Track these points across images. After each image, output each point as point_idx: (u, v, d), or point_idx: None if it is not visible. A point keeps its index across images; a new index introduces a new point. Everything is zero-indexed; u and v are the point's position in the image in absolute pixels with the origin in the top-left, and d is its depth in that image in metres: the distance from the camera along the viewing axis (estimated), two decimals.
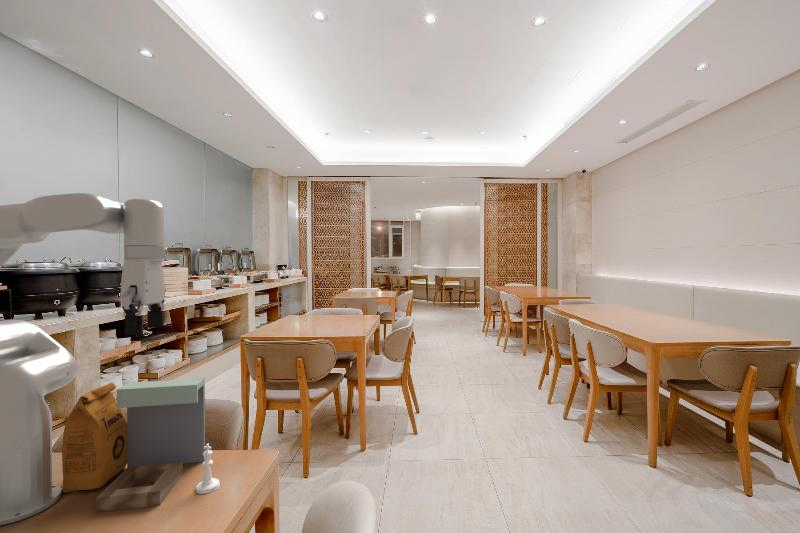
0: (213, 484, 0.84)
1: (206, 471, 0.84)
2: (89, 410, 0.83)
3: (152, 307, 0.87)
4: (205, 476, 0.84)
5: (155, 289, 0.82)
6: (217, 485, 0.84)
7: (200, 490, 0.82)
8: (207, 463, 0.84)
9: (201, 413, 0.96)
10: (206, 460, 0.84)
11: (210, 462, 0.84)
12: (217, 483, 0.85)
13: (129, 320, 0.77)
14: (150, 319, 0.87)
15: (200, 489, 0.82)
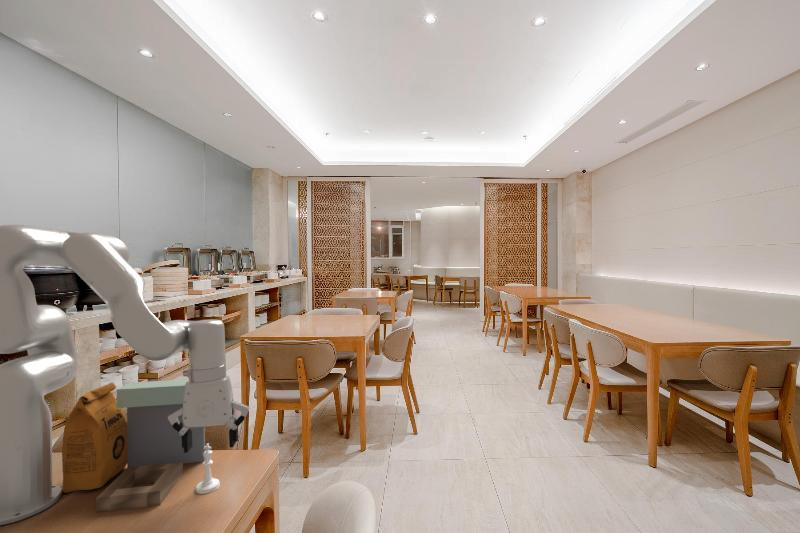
0: (213, 484, 0.84)
1: (206, 471, 0.84)
2: (89, 410, 0.83)
3: None
4: (205, 476, 0.84)
5: None
6: (217, 485, 0.84)
7: (200, 490, 0.82)
8: (207, 463, 0.84)
9: None
10: (206, 460, 0.84)
11: (210, 462, 0.84)
12: (217, 483, 0.85)
13: (236, 431, 0.85)
14: (188, 442, 0.83)
15: (200, 489, 0.82)
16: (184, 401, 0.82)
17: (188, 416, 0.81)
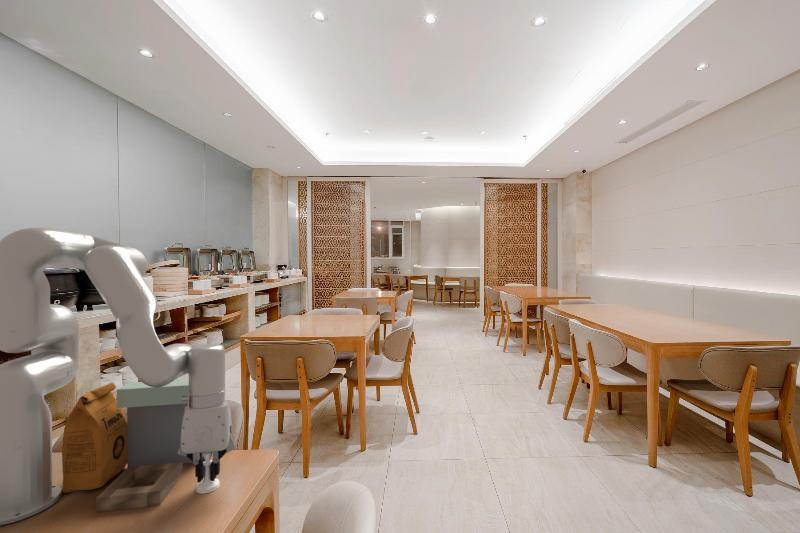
0: (213, 484, 0.84)
1: (206, 471, 0.84)
2: (89, 410, 0.83)
3: (198, 458, 0.84)
4: (205, 476, 0.84)
5: None
6: (217, 485, 0.84)
7: (200, 490, 0.82)
8: (207, 463, 0.84)
9: None
10: (206, 460, 0.84)
11: (210, 462, 0.84)
12: (217, 483, 0.85)
13: (218, 464, 0.85)
14: (201, 472, 0.84)
15: (200, 489, 0.82)
16: (182, 427, 0.81)
17: (186, 442, 0.81)
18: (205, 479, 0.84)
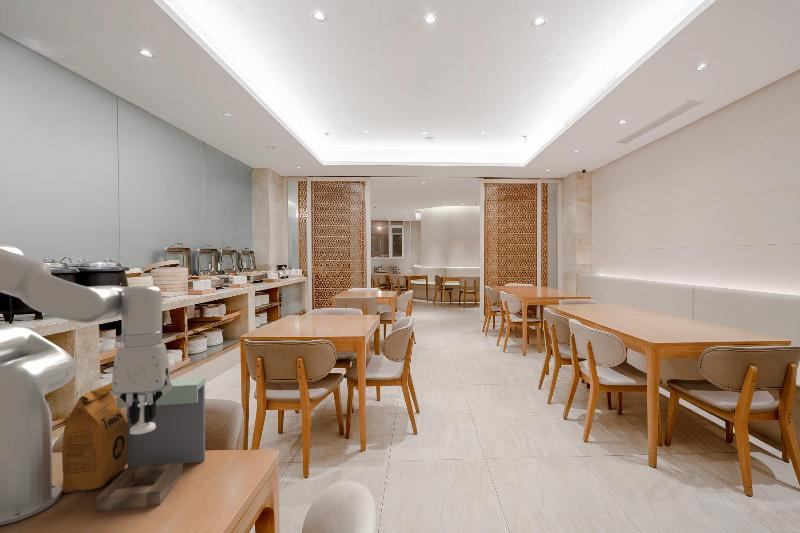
0: (147, 426, 0.82)
1: (141, 413, 0.83)
2: (89, 410, 0.83)
3: (133, 399, 0.82)
4: (140, 418, 0.83)
5: None
6: (152, 427, 0.83)
7: (133, 431, 0.81)
8: (142, 405, 0.83)
9: (201, 413, 0.96)
10: (141, 402, 0.83)
11: (145, 404, 0.83)
12: (152, 425, 0.83)
13: (153, 407, 0.83)
14: (135, 414, 0.82)
15: (133, 430, 0.81)
16: (114, 366, 0.80)
17: (118, 382, 0.80)
18: (139, 421, 0.82)
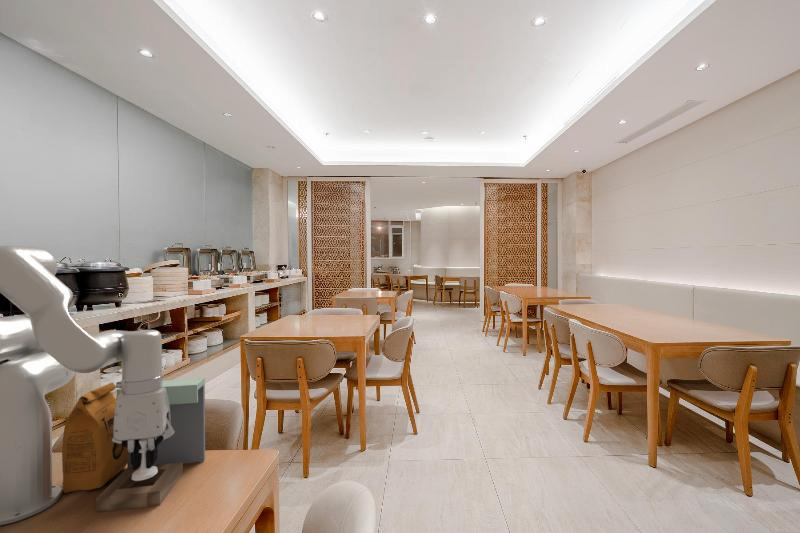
0: (149, 472, 0.82)
1: (142, 458, 0.83)
2: (89, 410, 0.83)
3: (134, 445, 0.82)
4: (141, 463, 0.83)
5: None
6: (154, 472, 0.83)
7: (135, 477, 0.81)
8: (143, 450, 0.83)
9: (201, 413, 0.96)
10: (142, 447, 0.83)
11: (147, 449, 0.83)
12: (154, 470, 0.83)
13: (155, 452, 0.83)
14: (137, 459, 0.82)
15: (135, 476, 0.81)
16: (115, 413, 0.80)
17: (119, 429, 0.80)
18: (141, 466, 0.82)
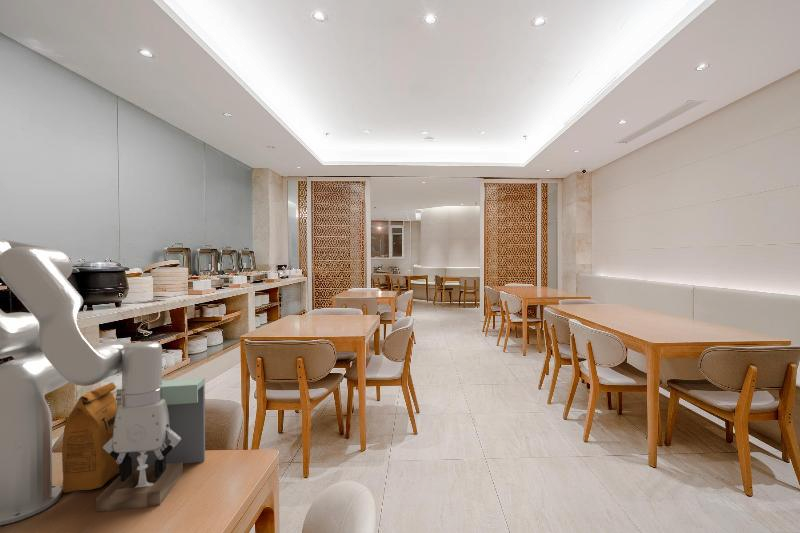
0: None
1: (140, 475, 0.83)
2: (89, 410, 0.83)
3: None
4: (139, 480, 0.82)
5: None
6: None
7: None
8: (141, 467, 0.82)
9: (201, 413, 0.96)
10: (140, 464, 0.83)
11: (145, 466, 0.83)
12: None
13: (163, 461, 0.84)
14: (126, 471, 0.82)
15: None
16: (115, 426, 0.80)
17: (118, 441, 0.80)
18: (139, 484, 0.82)
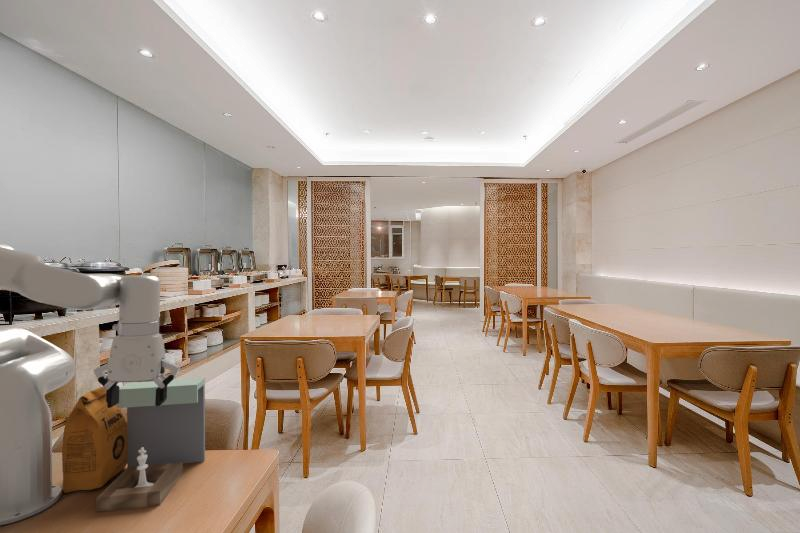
0: None
1: (140, 475, 0.83)
2: (89, 410, 0.83)
3: None
4: (139, 480, 0.82)
5: None
6: None
7: None
8: (141, 467, 0.82)
9: (201, 413, 0.96)
10: (140, 464, 0.83)
11: (145, 466, 0.83)
12: None
13: (164, 390, 0.84)
14: (113, 398, 0.82)
15: None
16: (110, 354, 0.80)
17: (113, 370, 0.80)
18: (139, 484, 0.82)
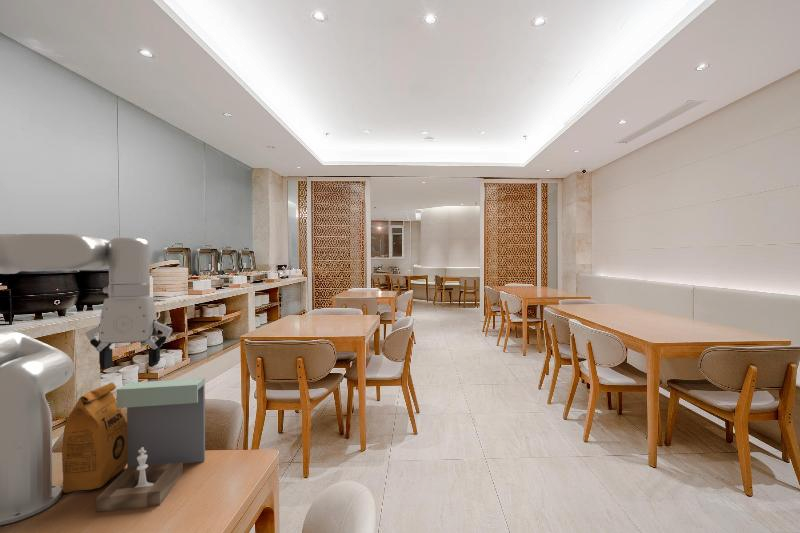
0: None
1: (140, 475, 0.83)
2: (89, 410, 0.83)
3: (104, 347, 0.82)
4: (139, 480, 0.82)
5: None
6: None
7: None
8: (141, 467, 0.82)
9: (201, 413, 0.96)
10: (140, 464, 0.83)
11: (145, 466, 0.83)
12: None
13: (157, 351, 0.84)
14: (106, 359, 0.82)
15: None
16: (102, 316, 0.81)
17: (105, 331, 0.81)
18: (139, 484, 0.82)
